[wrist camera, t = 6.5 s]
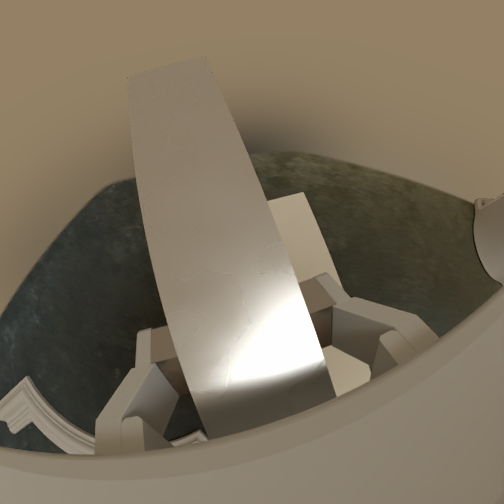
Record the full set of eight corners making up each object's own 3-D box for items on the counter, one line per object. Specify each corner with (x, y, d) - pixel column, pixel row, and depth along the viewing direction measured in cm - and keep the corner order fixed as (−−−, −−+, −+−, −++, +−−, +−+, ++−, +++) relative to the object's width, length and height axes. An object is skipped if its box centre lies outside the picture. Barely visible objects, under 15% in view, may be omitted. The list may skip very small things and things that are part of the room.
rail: (209, 108, 13) (205, 56, 10) (351, 516, 8) (379, 553, 4) (144, 126, 12) (127, 77, 9) (282, 541, 7) (294, 584, 4)
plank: (301, 195, 36) (303, 192, 35) (373, 394, 29) (377, 395, 28) (244, 210, 35) (244, 207, 34) (317, 421, 28) (320, 423, 27)
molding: (4, 423, 23) (-6, 426, 20) (-1, 358, 26) (-12, 358, 24) (257, 504, 24) (259, 515, 22) (268, 433, 28) (271, 442, 25)
